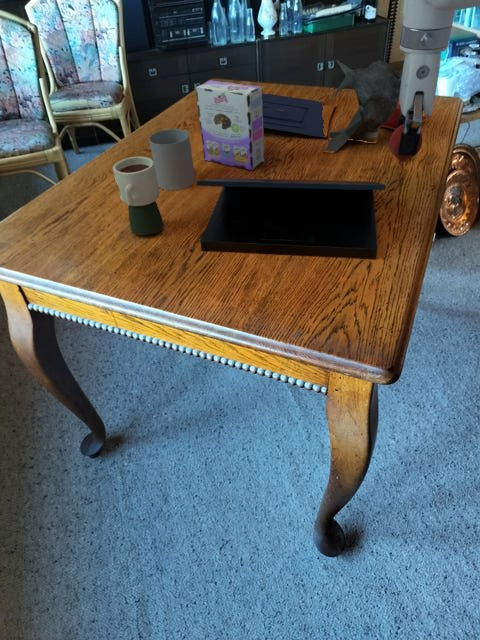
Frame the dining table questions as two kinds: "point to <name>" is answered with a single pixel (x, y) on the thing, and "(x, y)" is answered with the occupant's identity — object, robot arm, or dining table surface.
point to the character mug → (139, 193)
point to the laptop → (293, 222)
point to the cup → (172, 159)
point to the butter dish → (395, 118)
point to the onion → (396, 140)
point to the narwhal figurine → (368, 102)
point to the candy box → (231, 123)
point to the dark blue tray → (293, 115)
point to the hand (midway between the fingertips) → (405, 146)
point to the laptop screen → (293, 184)
